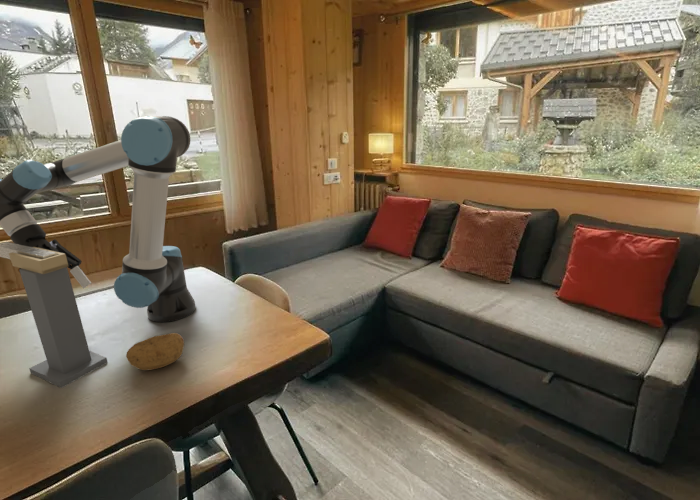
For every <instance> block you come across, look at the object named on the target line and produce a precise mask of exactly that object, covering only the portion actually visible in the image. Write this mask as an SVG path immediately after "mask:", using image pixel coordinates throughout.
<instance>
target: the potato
mask: <svg viewBox="0 0 700 500" xmlns="http://www.w3.org/2000/svg"><path fill="white" fill-rule="evenodd" d="M184 347H185V340H184V338H183V337H182V335H180V334H179V333H177V332H173V333H171V332H170V333H165V334H161V335H154V336H151V337H148V338H146V339H144V340H141V341H138V342H136V343H134V344H133V345H132V346H131V347H130V348H129V349H128V350H127V352H126V355H125V357H126V359H127V361H128V363H129V364H130V365H131V366H132V367H134V368H137V369H139V370H142V371H152V370H156V369H160V368H163V367H167V366H168V365H172V364H173V363H175V362H176V361H177V360H179V358H180V357H181V356H182V354H183V351H184Z"/></svg>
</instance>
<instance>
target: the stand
mask: <svg viewBox="0 0 700 500" xmlns="http://www.w3.org/2000/svg"><path fill="white" fill-rule="evenodd" d="M33 248H37V247H33ZM37 249H42V248H37ZM42 250H46V249H42ZM46 251H51V250H46ZM51 252H55V251H51ZM55 253H56V254H57V255H55V256H52V257H49V258H45V259H38V258H34V257H29V256H25V255H21V254H17V253H13V252H12V253H9V256H10V259H9V260H10V261H11V262H10V263H11V264H12V267H15V268H18V270H19V273H20V277H21V280H22V283H23V287H24V290H25V294H26V297H27V300H28V302H29V306H30V309H31V313H32V316H33V317H32V318H33V319H34V323H35V326H36V330H37V331H38V335H39V339H40V342H41V346H42V349H43V352H44V357H45V359H46V360H44V361H41V362H39V363H36V364H35V365H32V366H31V367H29V372H30V374H31V375H33V376H36V377H37V378H39V379H42V380H44V381H46V382H48V383H50V384H52V385H55V386H57V387H59V388H62V389H63V388H64V387H66V386H67V385H69V384H71V383H73V382H76V380H78V379H80V378H82V377H83V376H86V375H88V374H89V373H91V372H93V371H95V370H97V369H99V368H100V367H102V366H103V365H106V364H107V363H109V362H108V359H107V357H106V356H104V355H101V354H99V353H96V352H93V351H91V350H90V349H89V345H88V342H87V337H86V333H85V330H84V326H83V322H82V319H81V315H80V311H79V307H78V304H77V299H76V296H75V293H74V289H73V284H72V281H71V277H70V272H69V268H68V262H67V258H66V254H65V253H60V252H55ZM20 268H22V269H20Z"/></svg>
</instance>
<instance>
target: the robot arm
mask: <svg viewBox="0 0 700 500" xmlns="http://www.w3.org/2000/svg"><path fill="white" fill-rule="evenodd" d="M190 134H191V133H190V131H189V129H188V127H187V126H186V125H185V124H184V122H182V121H181V120H179V119H178V118H175V117H172V116H167V115H166V116H165V115H163V116H162V115H161V116H157V115H156V116H153V115H152V116H150V115H145V116H141V117H136V118H134V119H132V120H130V121H129V122H128V123H127V124H126V125H125V126H124V128H123V130H122V132H121V138H120V139H119V140H116V141H113V142H111V143H107V144H105V145H102V146H98V147H95V148H92V149H88V150H86V151H83V152H80V153H76V154H73V155H71V156H67V157H65V158H61V159H58V160H55V161H51V162H47V163H42V162H40V161H37V160H34V159H27V160H24V161H22V162H21V163H20V164H18V165H16V166H15V167H14V169H13V170H12V171H10V172H9V173H7V175H6V176H5V177H3V179H2V178H0V227H1V228H2V230H4V232H5V233H6V235H7V236H9V237H10V240H11V241H12V243H15V244H19V245H24V246H28V247H37V248H42V249H46V250H51V251H55V252H60V253H65V254H66V258H67V262H68V267H67V269H69V273H70V274H71V275H72V276H73V277H74V279H75V280H76V281H77V282H78V284H79V285H80V286H81V288H83V289H85V288H87V287H88V286H89V285H91V284H92V282H91V280H90V279H89V278H88V277H87V275H86V273H85V272H84V271H83V270H82V268H81V267H80V265H81V264H82V260H81V259H80V258H79V257H77V256H76V255H75V254H73V253H72V252H71V251H70V250H68V249H67V248H66V247H64V246H63V245H61V243H60V242H58V240H57V239H53V240H51V241H48V240H47V239H46V236H47V233H46V232H45V230H44V229H43V228H42V227H41V226H40V225H39V224H38V221H37V219H35V217H34V216H33V215H32V214H31V213H30V211H29V210H28V209H27V208H26V206H25V205H24V203H26V202H27V201H28V200H30V199H32V197H34V196H35V195H36V194H39V193H43V192H48V191H52V190H55V189H58V188H62V187H69V186H71V185H73V184H76V183H79V182H82V181H85V180H88V179H90V178H93V177H97V176H101V175H103V174H107V173H110V172H113V171H116V170H119V169H123V168H125V167H129V168H130V169H131V170H132V172H133V173H134V174H133V187H132V188H133V189H132V206H131V219H130V221H131V222H130V235H129V251H128V252H129V253H128V254H126V255H125V256H123V258H122V264H121V265H122V267H121V268H122V270H121V273H120V275H118V276H117V277H116V279H115V280H114V283H113V291H114V294H115V295H116V297H117V298H118V299H119V300H120V301H121V302H122V303H123V304H125V305H127V306H129V307H130V308H137V309H143V308H146V307H147V309H146V314H147V317H148V320H150V321H152V322H157V323H168V322H175V321H178V320H181V319H184V318H187V317H188V316H190V315H192V314H193V313H194V312H195V311H196V307H197V306H196V302H195V299H194V297H193V295H192V294H191V292H190V291H189V289H188V287H187V281H186V279H187V278H186V274H185V268H184V262H183V255H182V252H181V249H180V248H179V247H177V246H173V245H164V239H165V238H164V237H165V226H166V224H165V223H166V216H167V206H168V205H167V204H168V193H169V183H170V177H171V176H173V174H175V173H176V172H177V163H178V158H180V157H181V156H183V155H185V153H186V152H187V151H188V150H189V148H190V145H191V135H190ZM19 269H22V268H19Z"/></svg>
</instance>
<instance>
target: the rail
mask: <svg viewBox="0 0 700 500" xmlns="http://www.w3.org/2000/svg"><path fill="white" fill-rule="evenodd" d="M12 252H13V253H17V254H21V255H25V256H29V257H34V258H38V259H45V258H49V257H52V256H55V255H57V254H56V253H55V252H51V251H46V250H42V249H37V248H33V247H28V246H24V245H19V244H15V243H14V242H9V241H5V242H0V258H3V259H8V260H11V259H10V256H9V253H12Z"/></svg>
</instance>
